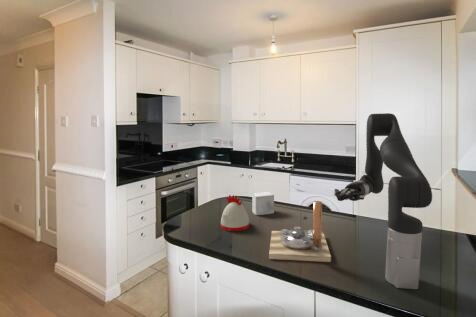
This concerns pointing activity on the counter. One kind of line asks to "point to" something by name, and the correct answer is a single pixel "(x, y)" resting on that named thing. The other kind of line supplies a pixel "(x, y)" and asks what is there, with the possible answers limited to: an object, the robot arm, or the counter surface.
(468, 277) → the counter surface
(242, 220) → the kitchen timer
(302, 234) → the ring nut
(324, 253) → the nut base plate
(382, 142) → the robot arm
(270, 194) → the skincare box
